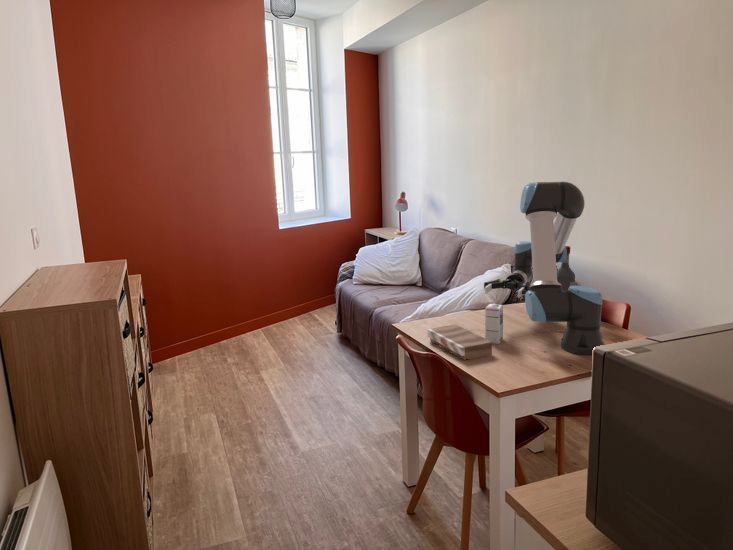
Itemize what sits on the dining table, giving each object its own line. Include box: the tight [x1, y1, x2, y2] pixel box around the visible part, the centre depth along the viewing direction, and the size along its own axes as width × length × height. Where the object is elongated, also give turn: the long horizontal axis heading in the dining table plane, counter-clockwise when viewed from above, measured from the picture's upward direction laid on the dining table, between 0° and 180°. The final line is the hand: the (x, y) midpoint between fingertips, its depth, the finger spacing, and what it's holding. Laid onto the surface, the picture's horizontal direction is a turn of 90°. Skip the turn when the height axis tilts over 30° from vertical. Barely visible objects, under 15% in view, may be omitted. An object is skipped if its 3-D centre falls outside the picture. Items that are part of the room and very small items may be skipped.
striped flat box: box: [427, 323, 493, 361], centre depth 204 cm, size 24×14×5 cm, turn 24°
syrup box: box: [484, 303, 504, 345], centre depth 209 cm, size 6×6×14 cm
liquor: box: [557, 245, 576, 291], centre depth 247 cm, size 9×9×30 cm
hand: (501, 292), depth 215 cm, fingers open, 13 cm apart
